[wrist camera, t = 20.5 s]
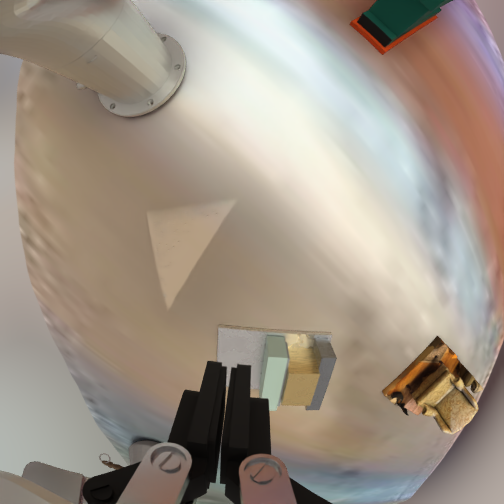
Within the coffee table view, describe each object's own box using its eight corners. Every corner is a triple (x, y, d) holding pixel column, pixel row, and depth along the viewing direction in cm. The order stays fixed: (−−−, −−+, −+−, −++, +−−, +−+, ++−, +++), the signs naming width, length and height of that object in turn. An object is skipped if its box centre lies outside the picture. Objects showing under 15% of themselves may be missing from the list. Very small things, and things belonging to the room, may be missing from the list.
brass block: (279, 378, 38) (281, 405, 32) (285, 347, 37) (289, 373, 31) (304, 379, 38) (310, 405, 32) (312, 348, 37) (320, 374, 31)
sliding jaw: (259, 387, 39) (259, 410, 34) (267, 335, 36) (268, 356, 31) (277, 388, 39) (279, 410, 34) (287, 337, 36) (290, 358, 31)
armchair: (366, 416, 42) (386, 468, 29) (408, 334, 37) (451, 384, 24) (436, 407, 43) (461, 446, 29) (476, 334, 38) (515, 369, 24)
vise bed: (217, 382, 40) (212, 406, 34) (219, 324, 37) (213, 347, 31) (315, 387, 40) (321, 411, 34) (330, 332, 37) (341, 354, 31)
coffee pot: (186, 463, 47) (175, 513, 33) (143, 458, 48) (127, 503, 33) (154, 408, 42) (130, 468, 27) (106, 402, 43) (76, 453, 28)
